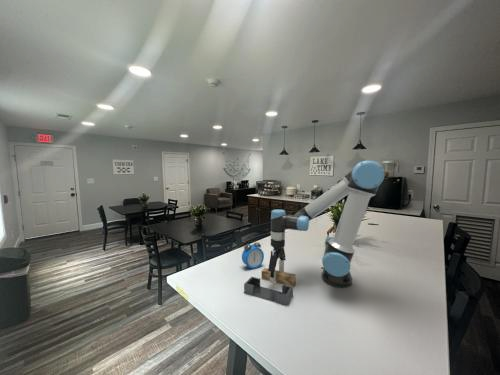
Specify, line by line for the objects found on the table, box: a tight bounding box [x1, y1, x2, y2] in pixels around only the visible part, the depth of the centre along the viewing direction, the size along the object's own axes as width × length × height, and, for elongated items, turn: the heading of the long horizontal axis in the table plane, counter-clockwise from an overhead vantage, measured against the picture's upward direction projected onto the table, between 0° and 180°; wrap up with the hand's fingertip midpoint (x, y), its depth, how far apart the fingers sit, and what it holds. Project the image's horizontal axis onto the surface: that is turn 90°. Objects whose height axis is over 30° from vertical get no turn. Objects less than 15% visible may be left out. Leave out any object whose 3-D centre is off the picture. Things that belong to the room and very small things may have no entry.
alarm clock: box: [241, 242, 265, 270], centre depth 126 cm, size 13×6×15 cm, turn 119°
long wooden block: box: [261, 267, 297, 288], centre depth 109 cm, size 18×4×5 cm, turn 63°
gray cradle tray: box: [243, 276, 294, 307], centre depth 96 cm, size 22×8×5 cm, turn 62°
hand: (277, 276), depth 109 cm, fingers open, 13 cm apart
